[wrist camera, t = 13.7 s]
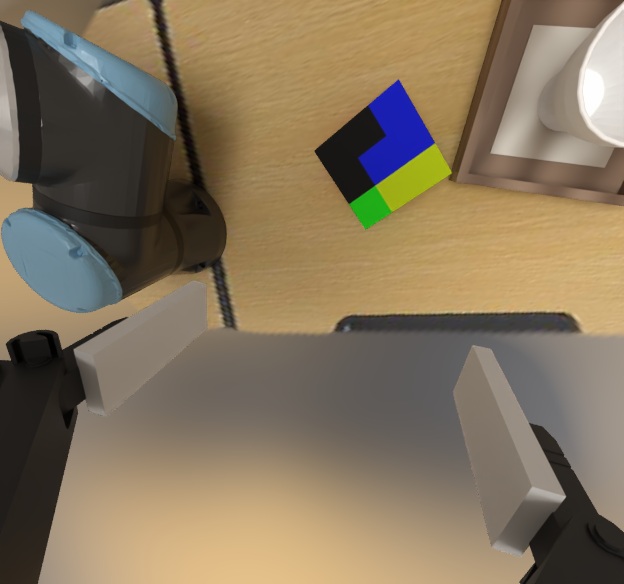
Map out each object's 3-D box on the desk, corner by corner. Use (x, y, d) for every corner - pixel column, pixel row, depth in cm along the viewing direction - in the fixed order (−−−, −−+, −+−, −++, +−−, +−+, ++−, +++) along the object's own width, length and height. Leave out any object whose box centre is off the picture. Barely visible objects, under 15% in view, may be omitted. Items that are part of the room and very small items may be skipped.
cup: (636, 18, 29) (805, -83, 17) (629, 136, 32) (767, 120, 20) (510, 63, 33) (577, 4, 21) (516, 165, 36) (577, 166, 24)
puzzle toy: (398, 99, 37) (398, 79, 28) (439, 170, 39) (452, 173, 30) (331, 153, 41) (314, 151, 32) (371, 215, 43) (365, 229, 34)
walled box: (448, 179, 39) (455, 181, 34) (507, -18, 31) (526, -48, 27) (618, 204, 36) (649, 209, 31) (731, -10, 28) (795, -43, 23)
